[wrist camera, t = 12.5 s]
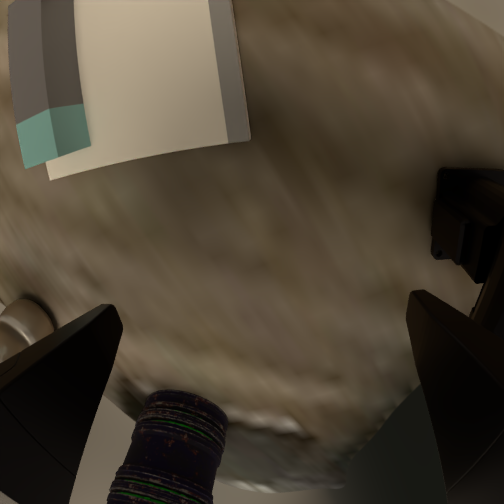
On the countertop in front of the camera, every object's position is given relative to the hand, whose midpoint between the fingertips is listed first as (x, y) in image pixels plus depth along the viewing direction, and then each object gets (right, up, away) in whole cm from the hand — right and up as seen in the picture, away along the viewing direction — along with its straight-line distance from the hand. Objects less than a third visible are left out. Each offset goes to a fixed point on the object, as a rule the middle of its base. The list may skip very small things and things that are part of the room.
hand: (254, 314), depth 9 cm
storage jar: (-7, -17, +23) cm, 29 cm away
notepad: (-8, +14, +7) cm, 18 cm away
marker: (-13, +14, +7) cm, 20 cm away
